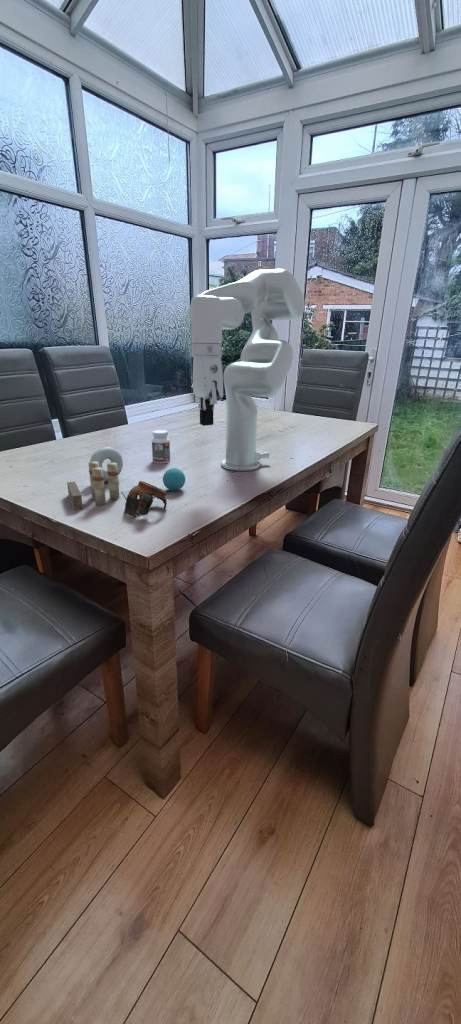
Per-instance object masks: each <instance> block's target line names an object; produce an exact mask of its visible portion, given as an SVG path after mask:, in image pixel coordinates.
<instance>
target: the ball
mask: <svg viewBox="0 0 461 1024" xmlns="http://www.w3.org/2000/svg"><path fill="white" fill-rule="evenodd" d="M162 484H163V485H164V486H165V488H166V489H168V490H170V491H173V492H174V491H178V490H180V489H183V487H184V485H185V484H186V475H185V473H184V472H183V471H182V470H181V469H179V468H177V467H175V468H174V467H171V468H169V469H167V470H166V471H165V472H164V473H163V476H162Z"/></svg>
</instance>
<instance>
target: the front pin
mask: <svg viewBox="0 0 461 1024" xmlns="http://www.w3.org/2000/svg"><path fill="white" fill-rule="evenodd" d="M106 470H107V473H108V491H109V499H110V500H119V499H120V487H119V485H120V484H119V475H118V470H117V463H111V462H109V463H106Z"/></svg>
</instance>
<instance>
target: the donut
mask: <svg viewBox="0 0 461 1024" xmlns="http://www.w3.org/2000/svg"><path fill="white" fill-rule="evenodd" d="M105 460H109V461H110V463H117V470H118V476H119V475H120V474H121V473H122V470H123V464H124V461H123V457H122V455H121V453H120V452H119V451H118V450H117V449H116V448H114V447H112V446H103V447H100V448H98V449H97V450H96V451H94V453H93V454H92V455H91V457H90V460H89V462H93V461H96V462H98V463H99V467H100V468H103V463H104V462H105ZM103 476H104V483H107V482H108V473H107V469H103ZM108 483H109V482H108Z"/></svg>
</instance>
